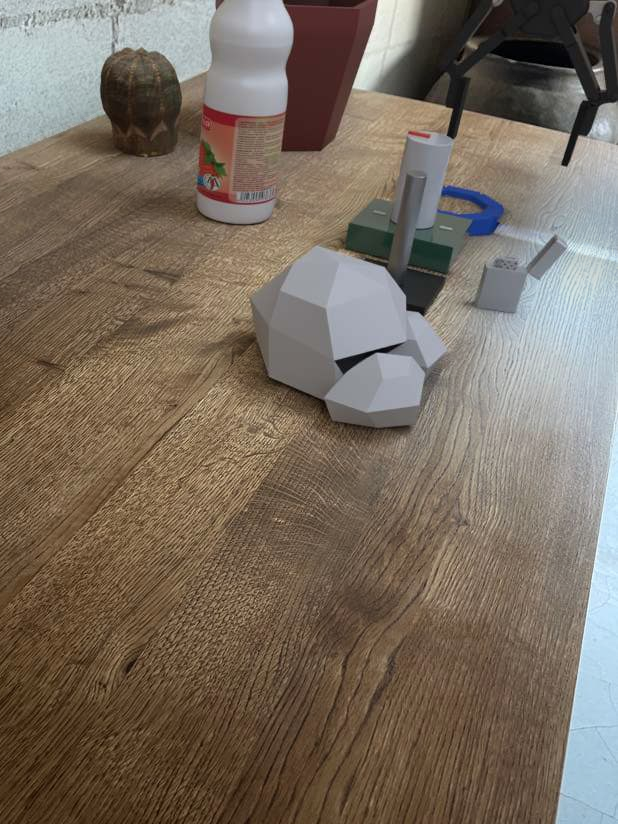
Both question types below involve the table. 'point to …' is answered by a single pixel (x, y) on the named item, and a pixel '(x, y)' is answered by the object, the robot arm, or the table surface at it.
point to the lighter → (514, 277)
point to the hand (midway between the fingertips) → (507, 150)
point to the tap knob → (430, 158)
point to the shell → (141, 101)
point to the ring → (481, 221)
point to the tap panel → (429, 245)
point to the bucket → (322, 67)
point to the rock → (346, 338)
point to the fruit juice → (244, 110)
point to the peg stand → (412, 282)
